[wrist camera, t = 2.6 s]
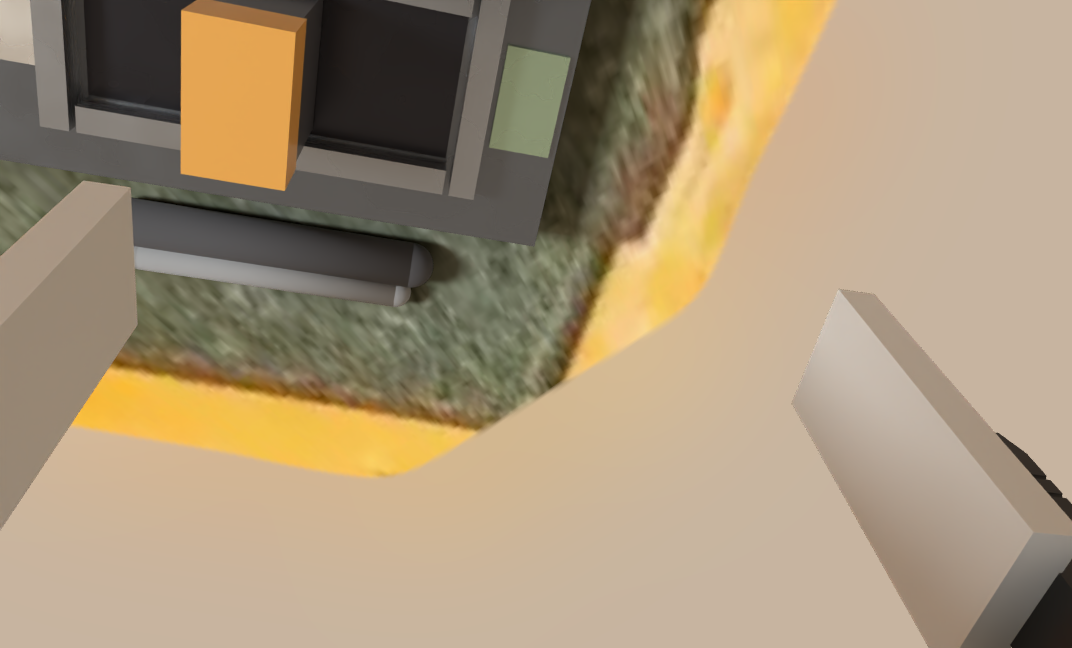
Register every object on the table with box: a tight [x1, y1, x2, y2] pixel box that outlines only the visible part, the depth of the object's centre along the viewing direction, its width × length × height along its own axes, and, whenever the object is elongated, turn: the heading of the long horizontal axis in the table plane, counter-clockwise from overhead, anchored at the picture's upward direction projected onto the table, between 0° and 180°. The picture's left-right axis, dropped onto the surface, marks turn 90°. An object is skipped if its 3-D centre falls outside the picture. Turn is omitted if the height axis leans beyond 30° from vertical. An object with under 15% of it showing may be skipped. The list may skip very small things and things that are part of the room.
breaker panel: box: [0, 0, 591, 246], centre depth 32 cm, size 22×12×4 cm, turn 78°
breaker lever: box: [181, 0, 323, 191], centre depth 28 cm, size 3×5×6 cm, turn 168°
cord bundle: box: [131, 198, 433, 307], centre depth 37 cm, size 14×3×2 cm, turn 78°
